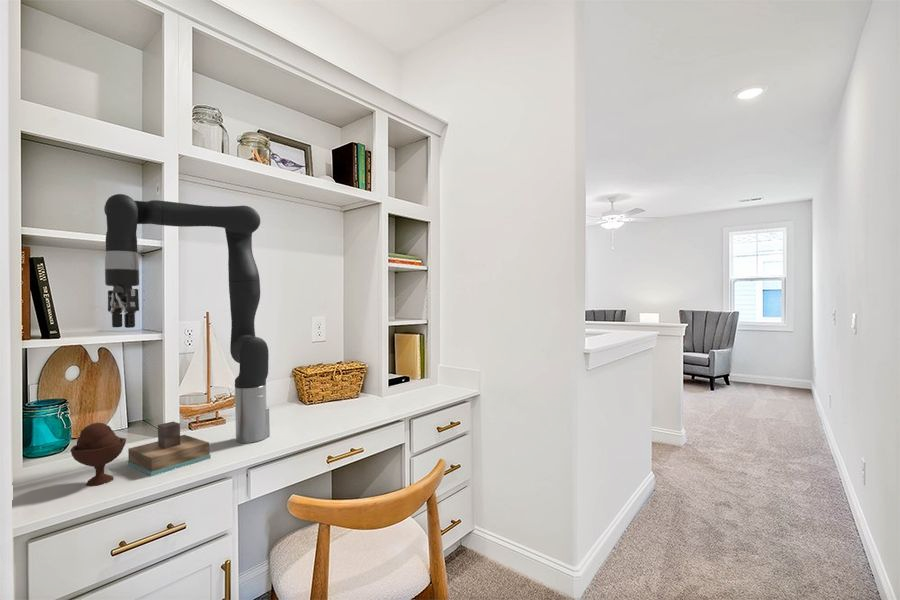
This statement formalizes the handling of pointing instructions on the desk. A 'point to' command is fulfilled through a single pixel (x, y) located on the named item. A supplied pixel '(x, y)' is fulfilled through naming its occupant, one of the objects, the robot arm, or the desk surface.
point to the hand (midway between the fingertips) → (123, 327)
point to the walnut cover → (168, 449)
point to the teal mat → (167, 467)
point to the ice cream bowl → (98, 450)
